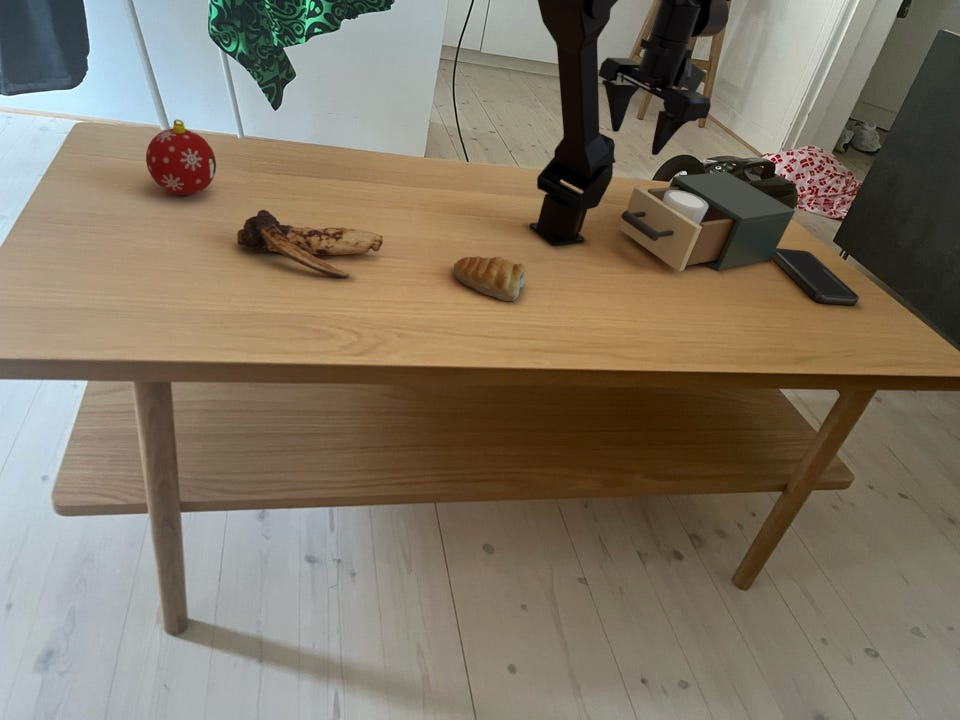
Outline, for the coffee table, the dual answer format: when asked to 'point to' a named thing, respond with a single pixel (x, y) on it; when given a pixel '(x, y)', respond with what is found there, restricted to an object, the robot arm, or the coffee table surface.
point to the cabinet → (741, 217)
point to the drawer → (675, 229)
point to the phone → (814, 277)
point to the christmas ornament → (180, 160)
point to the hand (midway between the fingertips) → (634, 142)
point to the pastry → (491, 276)
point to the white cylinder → (686, 204)
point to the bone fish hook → (305, 241)
